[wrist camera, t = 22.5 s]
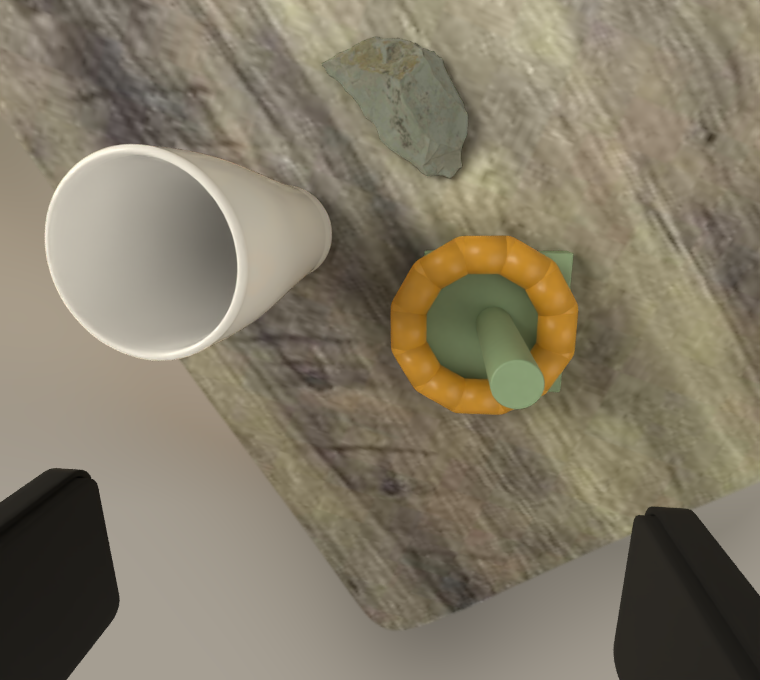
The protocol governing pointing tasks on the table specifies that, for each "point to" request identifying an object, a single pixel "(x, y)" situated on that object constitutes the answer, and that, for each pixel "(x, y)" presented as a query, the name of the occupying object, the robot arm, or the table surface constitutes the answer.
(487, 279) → the rack
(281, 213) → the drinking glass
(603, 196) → the table surface
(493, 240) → the ring
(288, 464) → the table surface
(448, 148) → the rock
